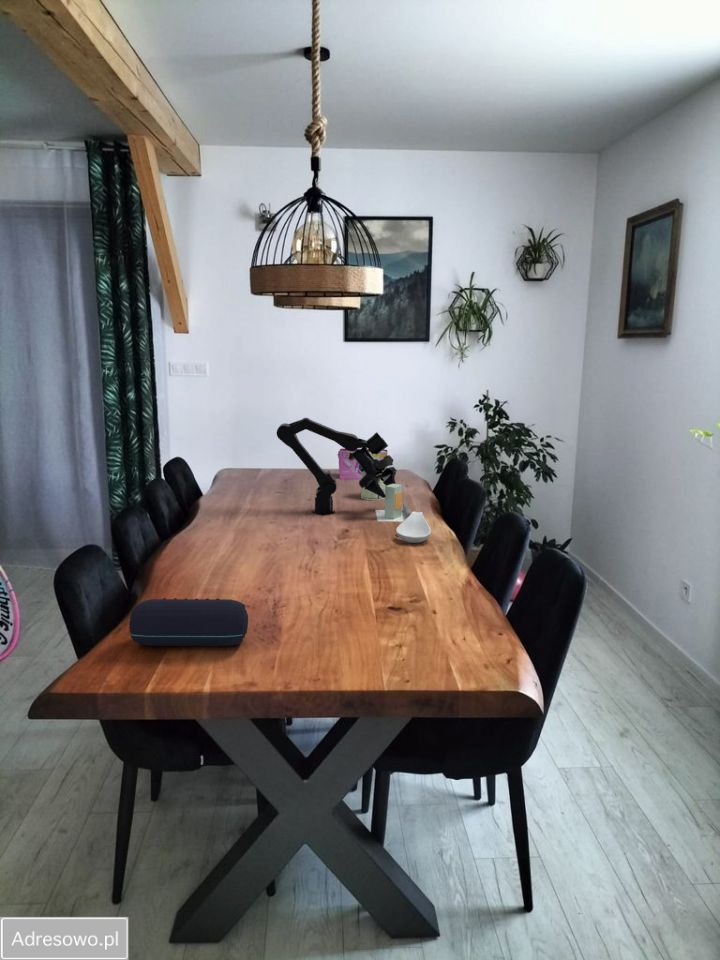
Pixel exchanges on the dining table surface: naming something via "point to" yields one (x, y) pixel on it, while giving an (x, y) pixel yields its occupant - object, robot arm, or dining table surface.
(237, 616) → the portable speaker
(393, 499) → the green carton
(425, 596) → the dining table surface
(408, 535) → the spoon rest
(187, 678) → the dining table surface
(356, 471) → the pink printed box
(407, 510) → the white plate with rail
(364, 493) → the coffee can
